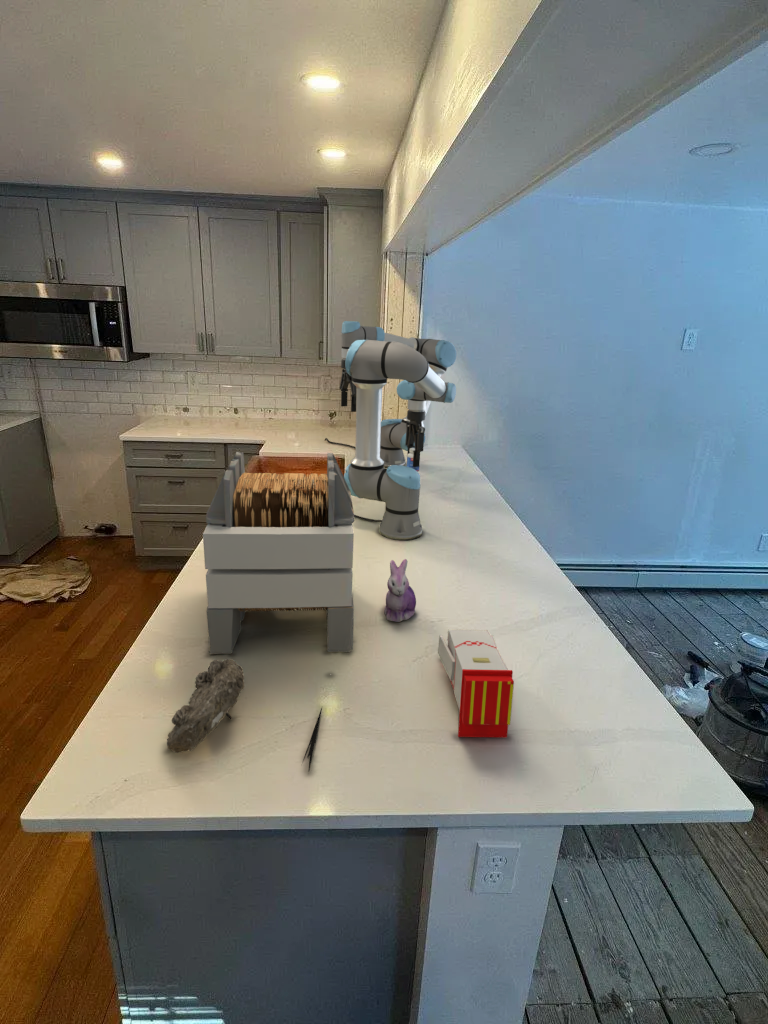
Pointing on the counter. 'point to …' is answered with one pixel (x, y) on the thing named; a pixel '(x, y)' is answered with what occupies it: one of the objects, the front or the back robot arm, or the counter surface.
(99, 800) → the counter surface
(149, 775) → the counter surface
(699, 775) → the counter surface
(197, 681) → the fossil
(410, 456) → the pill bottle
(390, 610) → the figurine
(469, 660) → the toy
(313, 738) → the feather
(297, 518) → the record crate stand
